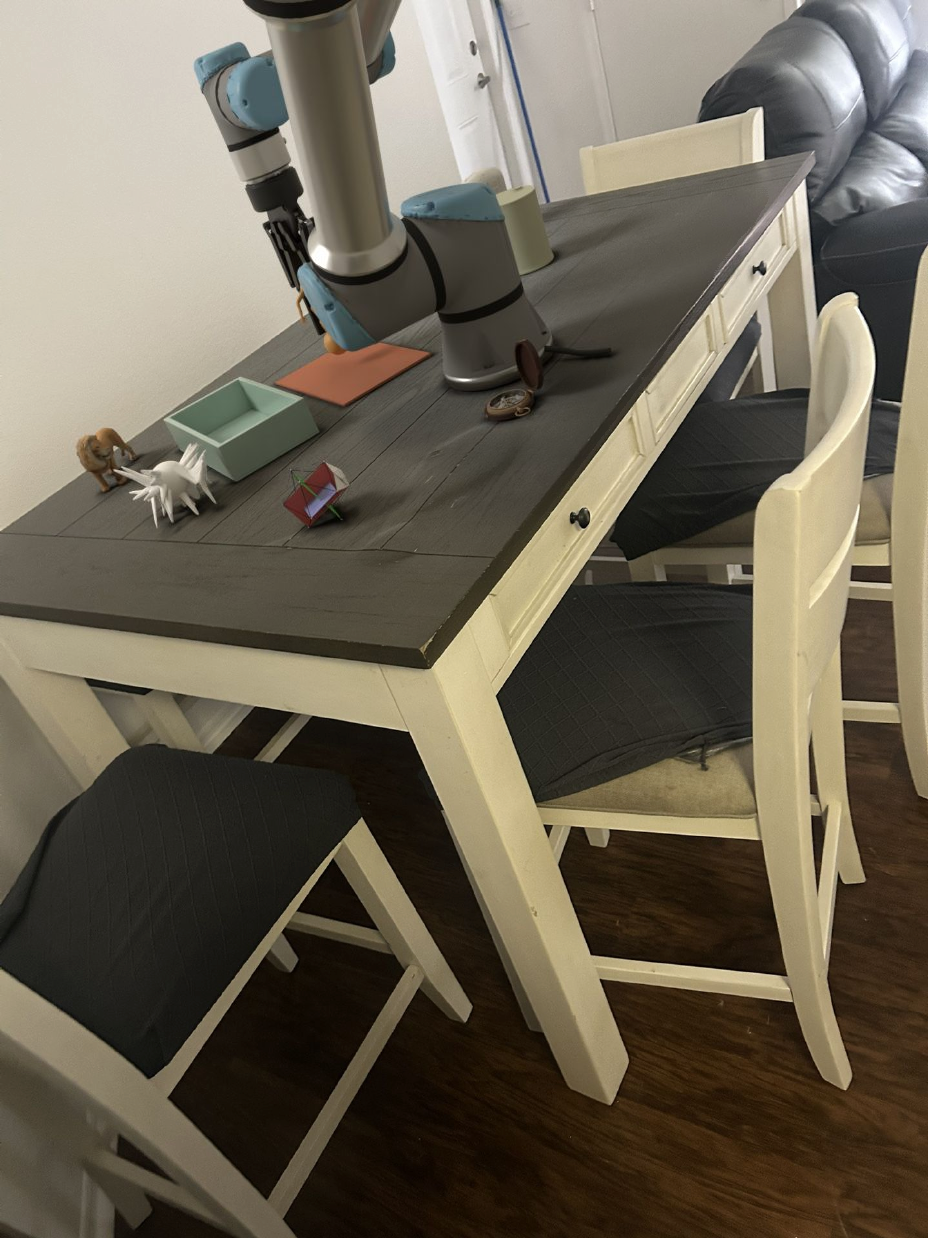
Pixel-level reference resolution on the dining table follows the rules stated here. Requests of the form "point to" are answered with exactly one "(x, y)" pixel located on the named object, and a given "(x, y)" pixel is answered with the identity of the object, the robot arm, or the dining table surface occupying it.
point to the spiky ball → (173, 482)
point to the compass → (517, 399)
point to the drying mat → (352, 372)
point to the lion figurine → (102, 454)
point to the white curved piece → (488, 179)
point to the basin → (242, 426)
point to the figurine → (328, 340)
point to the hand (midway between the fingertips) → (334, 332)
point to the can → (525, 228)
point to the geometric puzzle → (317, 493)
